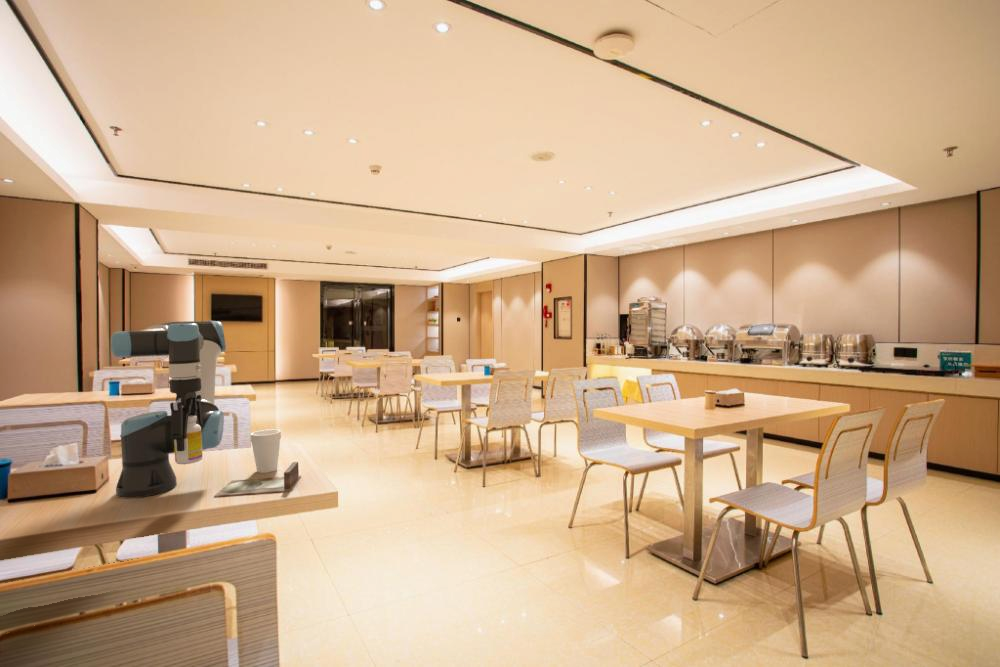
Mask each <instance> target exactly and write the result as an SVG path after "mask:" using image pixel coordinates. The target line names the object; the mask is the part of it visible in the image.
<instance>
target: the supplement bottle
mask: <svg viewBox="0 0 1000 667" xmlns="http://www.w3.org/2000/svg"><path fill="white" fill-rule="evenodd" d="M196 420H197V416H194V415H192V416H188V423H187V432H186V438H188V456H189V461H188V462H178V463H177V454H176V440H174V447H175V453H174V462H175V463H176V464H177V465H190V464H194V463H198V462H200V461H202V460H203V450H202V436H201V426H200V425H198V424H196Z"/></svg>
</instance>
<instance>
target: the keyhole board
mask: <svg viewBox="0 0 1000 667" xmlns="http://www.w3.org/2000/svg"><path fill="white" fill-rule="evenodd" d="M301 478H302V475H300V474H299V461H293V462H292V463H291V464H290V465H289V466H288V467H287V468H286V469H285V471H284V472H283V476H280V477H278V476H277V477H264V478H263V477H262V478H252V479H251V478H249V479H238V480H237V479H235V480H230V482H229V483H228V484H226V485H225V486H224V487H222V489H220V490H219V491H218V492H217V493H215V494H214V496H213V498H221V497H233V496H235V497H236V496H245V495H246V496H249V495H261V494H263V495H264V494H273V493H289V492H291V491H292V490H293V489H294V487H295V486H296V485H297V483H298V482H299V481H300V479H301Z"/></svg>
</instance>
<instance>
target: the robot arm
mask: <svg viewBox="0 0 1000 667" xmlns="http://www.w3.org/2000/svg"><path fill="white" fill-rule="evenodd" d="M110 348H111V353H112V355H113V356H114V357H115V358H126V359H127V358H136V357H137V358H140V357H155V356H156V357H159V356H168V377H169V378H170V380H169V392H170V393H172V394H175V402H170V404H169V407H170V411H171V412H170V415H169V414H168V412H167V411H166V410H161V411H159V410H158V411H151V412H147V413H146V412H145V413H142V414H137V415H135V416H130V417H128V418H126V419H124V420H123V421H122V422H121V426H120V435H119V436H120V444H121V445H120V446H121V464H122V466H121V468H122V469H121V472H120V474H119V477H118V482H117V483H116V486H115V492H116V493H115V496H116V497H117V498H122V499H132V498H133V499H134V498H143V497H149V496H153V495H158V494H161V493H164V492H167V491H170V490H172V489H174V488H175V487H177V484H178V482H177V481H178V480H177V476H176V473H175V471H174V470H173V467H172V465H171V463H170V457H169V455H170V454H175V447H174V440H176V454H177V463H178V462H188V461H189V456H188V438H186V432H187V423H188V416H192V415H194V416H197V420H196V424H198V425H200V426H201V436H202V451H204V450H207V449H214V448H216V447H218V446H219V445H220V444H221V441H222V438H223V433H224V425H225V415H224V412H223V411H221V410H220V409H219V407H218V406H217V405H216V404H215V388H216V371H217V370H216V368H217V367H216V365H217V359H218V358H219V357H220V356H221V353H223V352H226V349H227V347H226V340H225V332H224V326H223V323H222V322H220V321H218V320H217V321H216V320H207V321H204V320H202V321H201V320H200V321H199V320H198V321H197V320H196V321H195V320H193V321H191V320H190V321H188V320H187V321H169V322H164V323H158V324H155V325H150V326H148V327H146V328H145V329H139V330H130V331H129V330H124V331H123V330H122V331H115V332H113V333H112V335H111V337H110ZM177 463H176V464H177Z"/></svg>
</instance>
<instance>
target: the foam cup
mask: <svg viewBox="0 0 1000 667" xmlns="http://www.w3.org/2000/svg"><path fill="white" fill-rule="evenodd" d="M281 431H282V430H280V429H273V428H271V429H270V428H269V429H262V430H257V431H253V432H251V433H250V442H251V446H252V452H253V458H254V462H255V467H256V472H257V473H262V474H264V473H270V472H271V473H272V472H275V471H276V470H278V467H279V465H278V464H279V456H280V445H281V444H280V443H281V438H282V434H281V433H282V432H281Z"/></svg>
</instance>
